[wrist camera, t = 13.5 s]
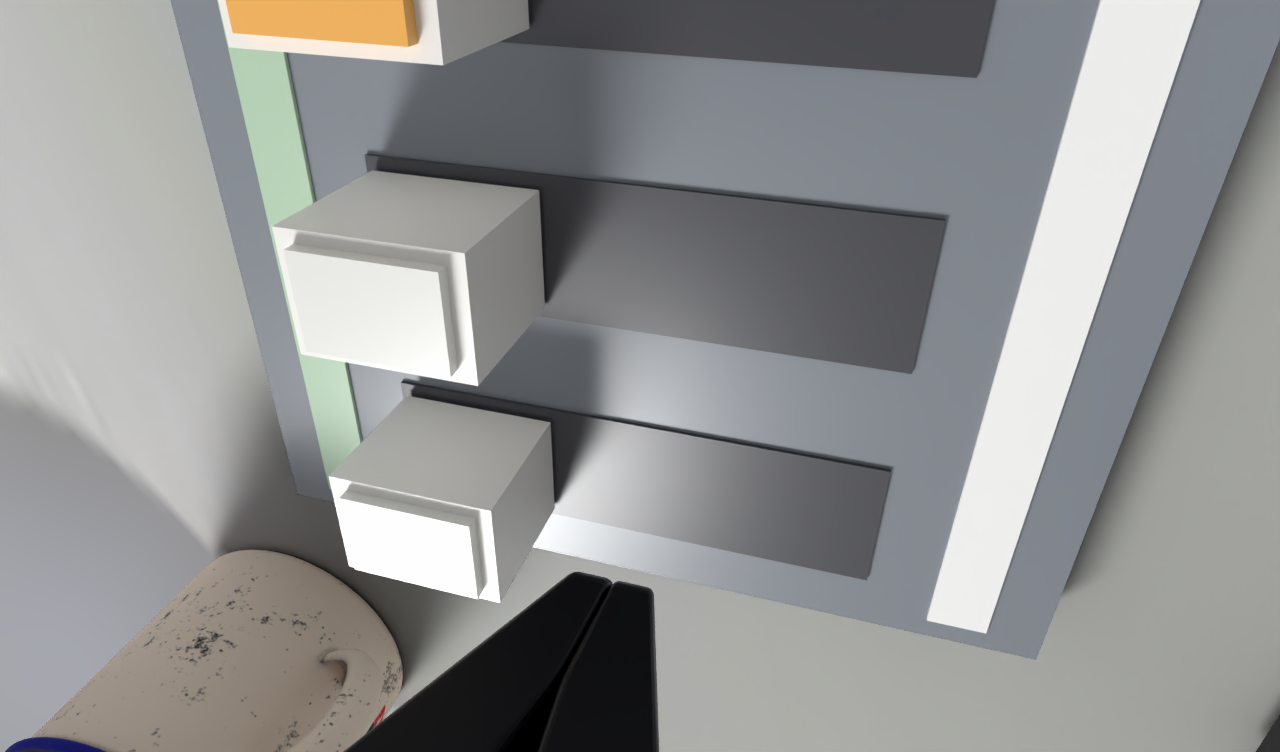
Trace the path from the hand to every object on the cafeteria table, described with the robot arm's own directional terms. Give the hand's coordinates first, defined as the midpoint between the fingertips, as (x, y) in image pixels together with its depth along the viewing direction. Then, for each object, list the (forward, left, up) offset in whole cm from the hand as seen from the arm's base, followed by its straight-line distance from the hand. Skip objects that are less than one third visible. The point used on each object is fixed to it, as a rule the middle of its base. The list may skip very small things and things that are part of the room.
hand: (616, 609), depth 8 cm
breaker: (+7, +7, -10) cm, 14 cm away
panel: (+3, +1, -12) cm, 12 cm away
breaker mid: (+7, +1, -10) cm, 12 cm away
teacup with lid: (+15, +18, -12) cm, 26 cm away
